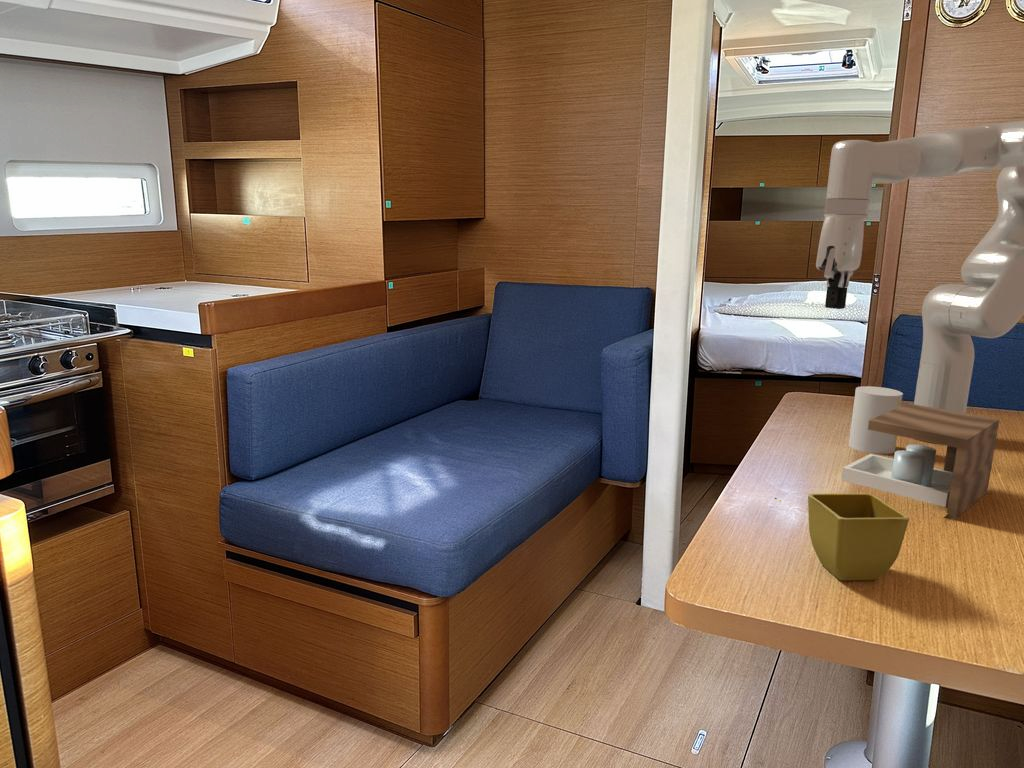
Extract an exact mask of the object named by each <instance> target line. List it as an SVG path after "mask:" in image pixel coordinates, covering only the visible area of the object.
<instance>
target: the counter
mask: <svg viewBox="0 0 1024 768" xmlns="http://www.w3.org/2000/svg"><path fill="white" fill-rule="evenodd" d="M999 424H1000V419H999V418H993V417H988V416H982V415H976V414H970V413H960V412H954V411H949V410H943V409H937V408H932V407H926V406H920V405H915V404H914V403H910V402H908V403H905V404H903V405H901V407H898V408H896V409H894V410H891V411H889V412H887V413H885V414H882V415H880V416H878V417H876V418H873V419H871V420H869V425H868V430H873V431H878V432H883V433H888V434H893V435H897V437H904V438H908V439H913V440H917V441H922V442H927V443H932V444H937V445H942V446H946V453H945V458H944V464H943V470H944V471H949V472H953V476H952V482H951V489H950V495H949V501H948V506H946V507H947V509H946V515H945V518H946V519H949V520H953V521H956V520H957V519H958V518H959V517H960V516H961V515H962V514H964V513H965V512H966V511H967V510H968V509H969V508H971V507H972V506H973V505H974V504H975V503H976V502H978V501H979V500H980V499H981V498H982V497H984V496H985V495H986V494H987V493H988V489H989V484H990V478H991V473H992V471H991V470H992V466H993V462H994V461H993V460H994V454H995V448H996V441H997V436H998V432H999Z"/></svg>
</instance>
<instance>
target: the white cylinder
mask: <svg viewBox="0 0 1024 768" xmlns="http://www.w3.org/2000/svg"><path fill="white" fill-rule="evenodd" d="M854 392H855V394H854V399H853V400H854V402H853V406H852V407H853V409H852V417H851V425H850V430H849V440H848V446H849V447H850V448H852V449H854V450H856V451H859V452H864V453H868V454H874V455H889V454H893V453H895V451H896V445H897V438H898V436H897V435H893V434H888V433H883V432H878V431H873V430H868V425H869V420H871V419H873V418H876V417H878V416H880V415H882V414H885V413H887V412H889V411H891V410H894V409H896V408H898V407H901V406H902V401H903V395H904V393H903V392H901V390H897V389H893V388H887V387H881V386H870V385H867V386H864V385H863V386H857V387H855V391H854Z"/></svg>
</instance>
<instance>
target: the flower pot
mask: <svg viewBox="0 0 1024 768" xmlns="http://www.w3.org/2000/svg"><path fill="white" fill-rule="evenodd" d="M807 510H808V512H807V513H808V514H807V515H808V531H809V537H810V541H811V544H812V548H813V549H814V552H815V554H816V556H817V558H818V561H819V562H820V564H821V565H822V566H823V567H824V568H825V569H826V570H828V571H829V572H830V573H831V574H832V575H833V576H835V578H837V579H838V580H840V581H877V580H879V579H881V578H882V577H883V576H884V575H885V574H886V573H888V571H889V570H890V569H891V568H892V567H893V565H894V563H895V562H896V560H897V559H898V557H899V554H900V552H901V549H902V545H903V542H904V538H905V535H906V531H907V528H908V526H909V525H908V524H909V521H910V517H909V516H908V515H906V514H904V513H903V512H901V511H899V510H897V508H894V507H892V506H891V505H889V504H888V503H886V502H885V501H884V500H882V499H880V498H879V497H878V496H876V495H874V494H872V493H860V492H859V493H808V494H807Z"/></svg>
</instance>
